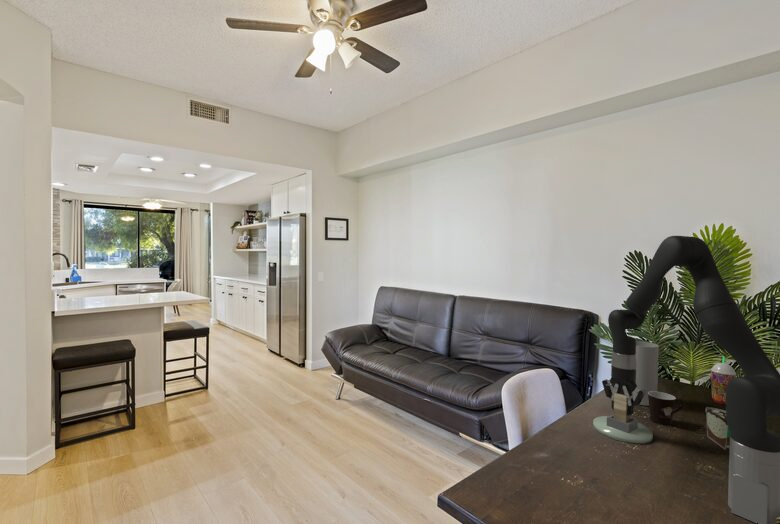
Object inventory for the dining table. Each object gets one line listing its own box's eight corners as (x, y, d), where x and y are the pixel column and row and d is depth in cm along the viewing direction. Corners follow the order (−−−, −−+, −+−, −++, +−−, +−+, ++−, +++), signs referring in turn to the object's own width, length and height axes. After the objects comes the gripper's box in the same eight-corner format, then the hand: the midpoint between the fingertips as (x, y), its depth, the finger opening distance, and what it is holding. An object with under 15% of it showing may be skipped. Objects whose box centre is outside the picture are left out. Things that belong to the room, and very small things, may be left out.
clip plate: (639, 448, 121) (639, 435, 121) (583, 427, 135) (583, 415, 135) (661, 434, 131) (661, 421, 131) (607, 416, 146) (607, 404, 146)
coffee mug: (648, 423, 140) (649, 396, 140) (645, 414, 147) (646, 389, 147) (687, 430, 134) (688, 403, 134) (682, 421, 142) (682, 395, 142)
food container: (751, 454, 118) (752, 423, 118) (728, 452, 120) (729, 421, 119) (724, 436, 130) (725, 408, 130) (704, 434, 132) (705, 406, 132)
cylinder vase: (627, 404, 158) (629, 345, 158) (618, 394, 170) (620, 339, 170) (661, 408, 155) (663, 348, 154) (650, 397, 166) (652, 341, 166)
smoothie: (705, 400, 164) (706, 355, 164) (715, 397, 167) (717, 353, 167) (729, 407, 156) (730, 360, 156) (739, 404, 160) (740, 358, 160)
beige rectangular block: (625, 425, 130) (626, 396, 130) (613, 420, 134) (614, 393, 134) (630, 422, 133) (631, 394, 133) (618, 418, 136) (619, 391, 136)
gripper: (597, 362, 136) (596, 408, 137) (641, 372, 125) (640, 423, 125) (607, 359, 141) (606, 404, 141) (650, 368, 129) (649, 417, 129)
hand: (622, 412), depth 133 cm, fingers closed on beige rectangular block, 4 cm apart
